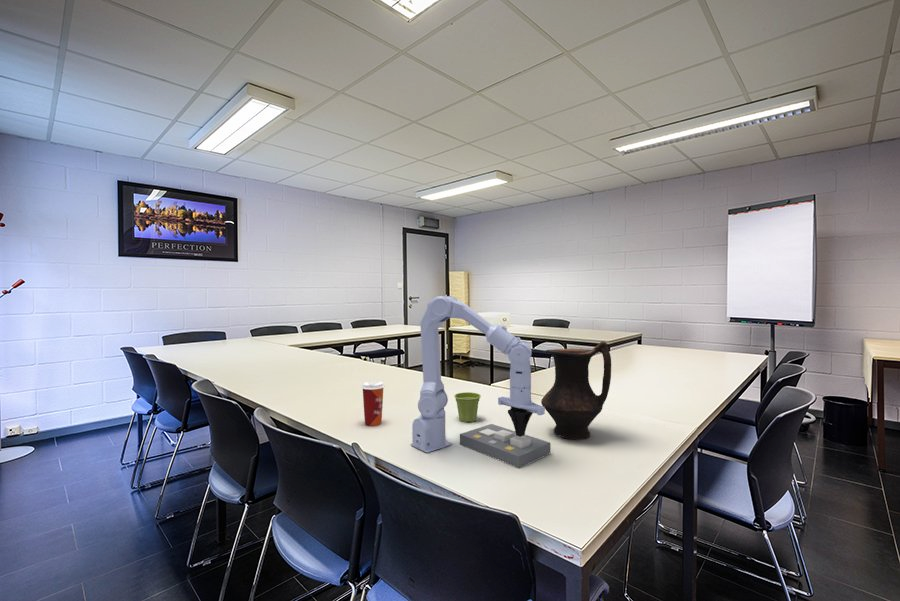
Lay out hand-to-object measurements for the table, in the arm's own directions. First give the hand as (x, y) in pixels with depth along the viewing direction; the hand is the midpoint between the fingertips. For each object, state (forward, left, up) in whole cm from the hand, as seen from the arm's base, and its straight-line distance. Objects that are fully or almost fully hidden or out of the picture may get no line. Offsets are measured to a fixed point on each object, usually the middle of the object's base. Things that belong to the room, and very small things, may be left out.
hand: (520, 435), depth 108 cm
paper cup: (-16, +51, -6) cm, 54 cm away
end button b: (0, 0, -4) cm, 4 cm away
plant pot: (+11, +32, -6) cm, 34 cm away
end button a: (0, +12, -5) cm, 13 cm away
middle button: (0, +6, -4) cm, 7 cm away
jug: (+25, -2, -6) cm, 26 cm away
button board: (0, +6, -5) cm, 8 cm away
